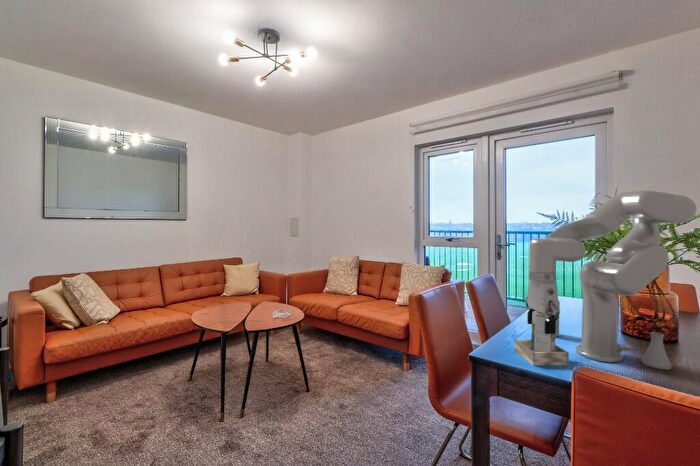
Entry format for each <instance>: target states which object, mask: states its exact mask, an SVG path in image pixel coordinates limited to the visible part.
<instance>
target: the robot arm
mask: <svg viewBox="0 0 700 466" xmlns="http://www.w3.org/2000/svg"><path fill="white" fill-rule="evenodd" d="M696 214H697V205H696V203H695V201H694V200H693V199H692V198H689V197H688V196H687V195H681V194H673V193H669V192H662V191H655V190H636V191H626V192H620V193H617V194H615V195H614V196H612V197H610V198H609V199H608V200H606V201H605V202H603V204H601V205H600V206H598V207H597V208H595V209H594V210H593V211H592V212H590V213H589V214H587V215H585V216H583V217H579V218H578V219H576V220H574V221H571V222H568V223H566V224H564V225H561V226H559V228H557V229H555V230H554V231H552V232H551V233H549V234H548V235H547V236H546V237H545V238H535V239H534V238H533V239H531V240H530V241H529V245H528V246H529V247H528V248H529V249H528V252H529V253H528V254H529V256H528V264H529V265H528V287H527V296H526V297H525V296H524V297H525V298H524V299H525V306H526V312H527V319H526V320H527V321H526V323H527V325H532V313H533V312H534V311H538V312H540V313H543V314H544V316H545V318H546V321H545V333H546V334H555V333H556V322H557V319H558V318H559V319H560V313H561V310H559V308H558V300H559V293H558V286H557V283H556V272H557V271H556V270H557V269H556V267H557V266H556V264H557V262H558V261H559V262H566V263H574V262H577V261H580V260H582V259H583V258H584V256H585V255H586V247H585V244H584V243H582V241H587V240H593V239H598V238H602V237H606V236H608V235H609V234H611V233H612V232H614V231H615V230H617V229H618V228H620V227H621V226H622V225H623V224H624V223H626V222H627V221H629V220H630V219H632V228H631V229H630V231H629V232H627V234H626V235H624V236H623V237H622V238H620V240H619V241H617V242H616V243H615V244H613V245H612V246H611V248H610V249H608V250H607V253H606V261H604V260H603V261H602V260H592V261H588V262H586V263H585V264H583V265H582V266H581V268H580V271H579V280H580V284H581V290H582V291H581V294H582V309H581V310H582V311H581V312H582V313H581V315H582V316H581V318H582V319H581V344H579V345H577V346H576V347H575V351H576V353H577V354H578V355H580V356H582V357H585V358H588V359H591V360H593V361H599V362H605V363H620V362H622V361H623V360H624V359H623V358H624V356H623V355H622V352H623V351H624V352H630V351H632V346H631V345H630V344H621V343H620V342H618V325H619V324H618V323H619V322H618V321H619V320H618V319H619V302H618V298H617V295H618V296H625V297H626V296H627V297H628V296H634V295H636V294H637V293H639V292H641V291H642V290H643V289H645V288H646V287H647V286H648V285H649V284H650V283H651V282H653V281H654V280H655V279H657V277H658V276H659V275H660V274H662V273H663V272H664V271H665V269H666V267H667V266H668V263H669V254H668V252H667V250H666V248H664V246H662V245H660V243H661V242H662V235H661V233H660V229H659V224H684V223H686V222H689V221H691V220H692V219H693V218H694V217H695V216H696ZM548 314H551V316H550V317H549V316H548Z"/></svg>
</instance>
